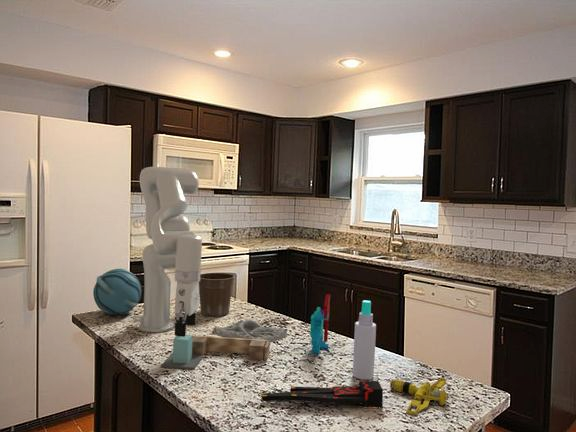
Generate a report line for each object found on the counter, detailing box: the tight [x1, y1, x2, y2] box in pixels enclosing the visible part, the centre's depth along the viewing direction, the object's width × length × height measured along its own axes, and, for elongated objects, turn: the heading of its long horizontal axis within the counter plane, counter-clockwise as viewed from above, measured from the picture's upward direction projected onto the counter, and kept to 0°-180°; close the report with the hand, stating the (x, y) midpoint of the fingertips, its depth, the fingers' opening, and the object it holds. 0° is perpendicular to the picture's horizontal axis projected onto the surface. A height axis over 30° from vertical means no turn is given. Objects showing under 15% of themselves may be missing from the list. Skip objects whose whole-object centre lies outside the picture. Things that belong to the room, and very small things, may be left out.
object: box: [199, 272, 236, 317], centre depth 190 cm, size 16×16×16 cm
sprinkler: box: [389, 377, 448, 416], centre depth 117 cm, size 19×4×15 cm
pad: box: [160, 352, 204, 371], centre depth 135 cm, size 10×10×1 cm
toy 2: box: [309, 293, 331, 355], centre depth 148 cm, size 18×6×15 cm
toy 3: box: [261, 380, 384, 409], centre depth 113 cm, size 8×5×30 cm
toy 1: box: [92, 268, 142, 316], centre depth 182 cm, size 18×20×20 cm
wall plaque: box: [212, 319, 288, 344], centre depth 164 cm, size 24×19×4 cm
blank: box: [172, 334, 194, 363], centre depth 135 cm, size 4×4×7 cm
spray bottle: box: [352, 299, 377, 381], centre depth 129 cm, size 6×6×22 cm
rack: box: [192, 334, 271, 362], centre depth 142 cm, size 26×7×4 cm, turn 86°
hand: (185, 330), depth 137 cm, fingers open, 9 cm apart
